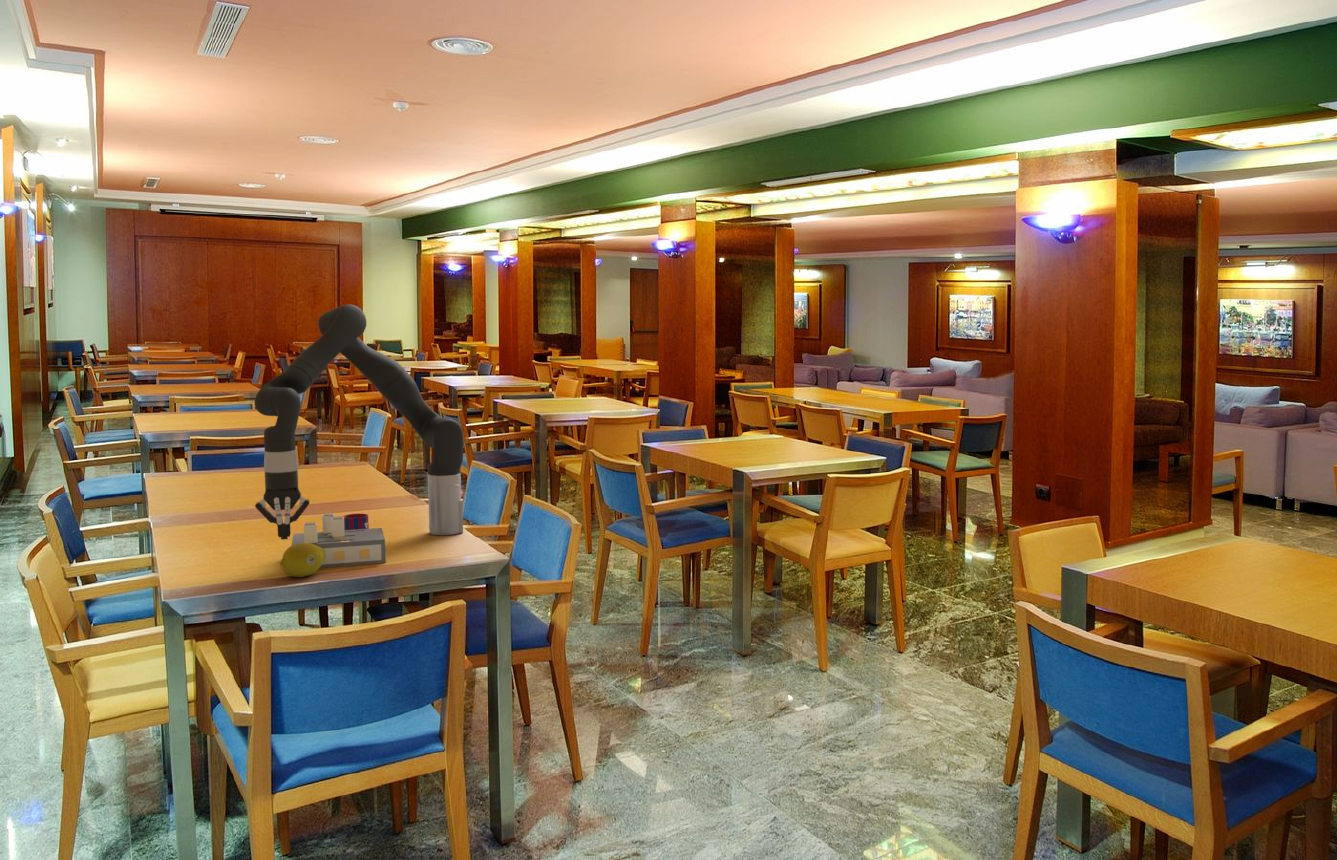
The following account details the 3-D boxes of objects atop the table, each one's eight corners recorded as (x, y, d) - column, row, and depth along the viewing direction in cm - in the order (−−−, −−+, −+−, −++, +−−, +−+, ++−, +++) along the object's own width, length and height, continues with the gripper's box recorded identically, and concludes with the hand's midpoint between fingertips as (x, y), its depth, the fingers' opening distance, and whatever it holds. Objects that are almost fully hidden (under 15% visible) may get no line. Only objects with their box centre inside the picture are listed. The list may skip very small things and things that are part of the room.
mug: (360, 542, 269) (359, 518, 268) (328, 540, 272) (327, 516, 271) (373, 537, 275) (373, 514, 275) (343, 535, 278) (342, 512, 278)
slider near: (317, 540, 243) (316, 521, 243) (317, 542, 241) (316, 524, 240) (304, 541, 242) (303, 522, 242) (304, 543, 240) (303, 525, 239)
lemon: (284, 583, 227) (283, 549, 226) (276, 576, 233) (274, 543, 232) (331, 576, 233) (330, 543, 232) (322, 569, 239) (321, 537, 238)
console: (382, 550, 260) (381, 527, 260) (385, 563, 246) (385, 539, 245) (294, 556, 253) (293, 533, 252) (292, 570, 238) (291, 545, 238)
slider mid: (344, 534, 251) (343, 516, 250) (344, 536, 248) (344, 518, 247) (332, 535, 250) (331, 516, 249) (332, 537, 247) (331, 519, 246)
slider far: (335, 530, 255) (334, 512, 255) (335, 532, 252) (334, 515, 252) (322, 531, 254) (322, 513, 254) (322, 533, 251) (322, 515, 251)
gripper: (310, 465, 243) (313, 533, 245) (252, 468, 239) (256, 537, 241) (309, 469, 236) (312, 540, 238) (250, 472, 232) (254, 544, 234)
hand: (284, 538), depth 239 cm, fingers closed
